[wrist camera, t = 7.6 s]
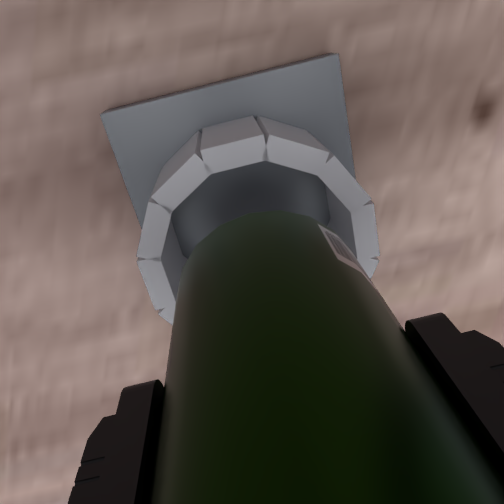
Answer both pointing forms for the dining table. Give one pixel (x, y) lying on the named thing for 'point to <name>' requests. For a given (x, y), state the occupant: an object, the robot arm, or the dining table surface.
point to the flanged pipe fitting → (239, 164)
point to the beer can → (302, 383)
